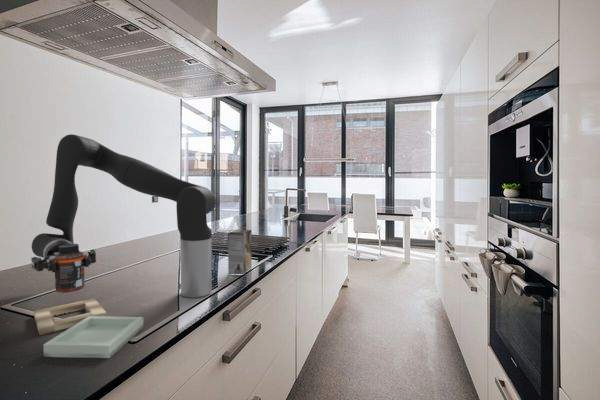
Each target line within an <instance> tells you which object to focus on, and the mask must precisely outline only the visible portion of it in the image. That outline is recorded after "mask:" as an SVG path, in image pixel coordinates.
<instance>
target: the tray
mask: <svg viewBox="0 0 600 400" xmlns="http://www.w3.org/2000/svg"><path fill="white" fill-rule="evenodd" d="M144 324H145V323H144V317H143V316H107V315H106V316H88V317H87V318H85V319H84V320H82V321H80V322H79V323H77V324H76V325H74V326H72V327H70V328H67V329H66V330H64V331H63V332H61V333H59V334H58V335H57V336H54V337H53V338H51V339H50V340H48V341H47V342H45V343H44V344H43V347H42V348H43V358H76V359H79V358H80V359H81V358H84V359H85V358H86V359H111V357H113V355H115V354H116V353H117V352H118V351H120V349H121V348H123V346H125V345H126V344H127V343H128V342H130V340H131V339H132V338H134V336H136V335H137V334H138V333H140V331H141V330H142V329H143V328H144V327H145V326H144Z"/></svg>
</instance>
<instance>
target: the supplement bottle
mask: <svg viewBox="0 0 600 400" xmlns="http://www.w3.org/2000/svg"><path fill="white" fill-rule="evenodd" d="M78 249H79V250H78ZM59 252H60V253H59V254H58V255H56V256H55V258H54V261H55V263H56V272H54V285H55V286H54V287H55V292H57V293H59V294H60V293H61V294H64V293H73V292H78V291H80V290H82V289H83V288H85V283H86V281H85V280H86V279H85V266H84V255H83V253H84V252H83V253H81V252H82V251H80V247H79V243H74V244H66V245H61V246H59Z"/></svg>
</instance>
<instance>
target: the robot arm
mask: <svg viewBox="0 0 600 400" xmlns="http://www.w3.org/2000/svg"><path fill="white" fill-rule="evenodd" d="M55 156H56V157H55V158H56V159H55V170H54V185H53V193H52V198H51V202H50V206H49V209H48V212H47V217H46V220H45V223H46V225H47V226H48V227H51V228H53V229H57V230H60V231H62V234H60V233H59V234H57V233H46V232H45V233H43V232H42V233H39V234H37V235H36V236H35V237H34V238H33V240H32V242H31V251H32V252H33V254H34V255H35V256H33V257H31V258H30V259H31V260H30V262H31V268H32V269H33V270H35V271H36V272H42V271H44V269H45V270H46V271H48V272H51V273H55V272H56V263H55V261H54V258H55V256H56V255H58V254H59V253H60V252H59V246H61V245H66V244H75V243H74V222H75V219H76V214H77V212H78V207H79V196H78V192H77V188H76V180H75V179H76V173H77V169H78V167H79V166H82V167H87V168H92V169H96V170H98V171H102V172H104V173H106V174H108V175H110V176H112V177H113V178H114V179H115V180H116V181H117V182H119V183H120V184H121V185H123V186H125V187H126V188H130V189H132V190H133V191H136V192H139V193H142V194H144V195H148V196H149V195H150V196H153V197H156V198H157V197H158V198H163V199H167V200H171V201H173V202H176V224H177V225H176V226H177V229H178V232H179V235H180V236H179V238H180V239H179V240H180V242H179V243H180V245H179V246H180V296H182V297H184V298H189V299H190V298H193V299H194V298H202V297H205V296H208V295H210V294H211V293H212V292H213V291H212V290H213V282H212V281H213V275H212V274H213V272H212V271H213V264H212V263H213V262H212V261H213V260H212V259H213V257H212V256H213V251H212V249H213V248H212V247H213V244H212V243H213V242H212V236H213V235H212V233H213V231H212V229H211V228H210V227H209V225H208V219H207V215H208V214H209V213H211V212H212V211H213V210H214V209H215V207H216V205H217V199H216V196H215V194H214V193H213V192H212V191H211V189H209V188H207V187H206V186H202V185H198V184H195V183H191V182H188V181H186V180H182V179H180V178H178V177H176V176H174V175H173V174H170V173H167V172H166V171H164V170H163V169H160V168H157V167H155V166H154V165H151V164H149V163H146V162H145V161H142V160H139V159H136V158H133V157H131V156H128V155H124V154H121V153H119V152H116V151H114V150H112V149H110V148H108V147H106V146H104V145H103V144H101V143H99V142H97V141H96V140H94V139H92V138H89V137H84V136H82V135H76V134H67V135H65V136H63V137H62V138H61V139H60V140H59V142H58V145H57V150H56V155H55ZM78 250H79V251H80V248H79V249H78ZM80 252H81V253H83V255H84V268H89V267H90V266H91V265H92V264H95V263H97V257H96V256H97V253H96V250H95V249H91V250H89V251H87V252H86V253H84V252H83V251H80Z"/></svg>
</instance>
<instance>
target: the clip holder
mask: <svg viewBox="0 0 600 400" xmlns="http://www.w3.org/2000/svg"><path fill="white" fill-rule="evenodd" d="M82 309H83V310H84V311H85V313H82V314H78V315H74V316H69V317H64V318H62V319H61V318H60V319H57V320H56V319H55V318H54V317H56V316H60V314H61V315H65V314H69V312H70V313H73V312H76V311H82ZM64 313H65V314H64ZM55 315H56V316H55ZM33 316H34V321H35V325H36V328H37V332H38V335H39V336H41V335H46V334H50V333H54V332H58V331H61V330H65V329H66V330H67V329H69V328H71V327H72V326H74V325H76V324H77V323H79V322H80V321H82V320H84V319H85V318H87V317H88V316H107V311H106V310H105V309H104V308H103V307H102V305H101V304H100V303H99V302H98V301H97V299H96V298H95V297H94V298H90V299H84V300H80V301H75V302H71V303H66V304H61V305H57V306H52V307H47V308H41V309H37V310H34V311H33Z"/></svg>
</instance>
